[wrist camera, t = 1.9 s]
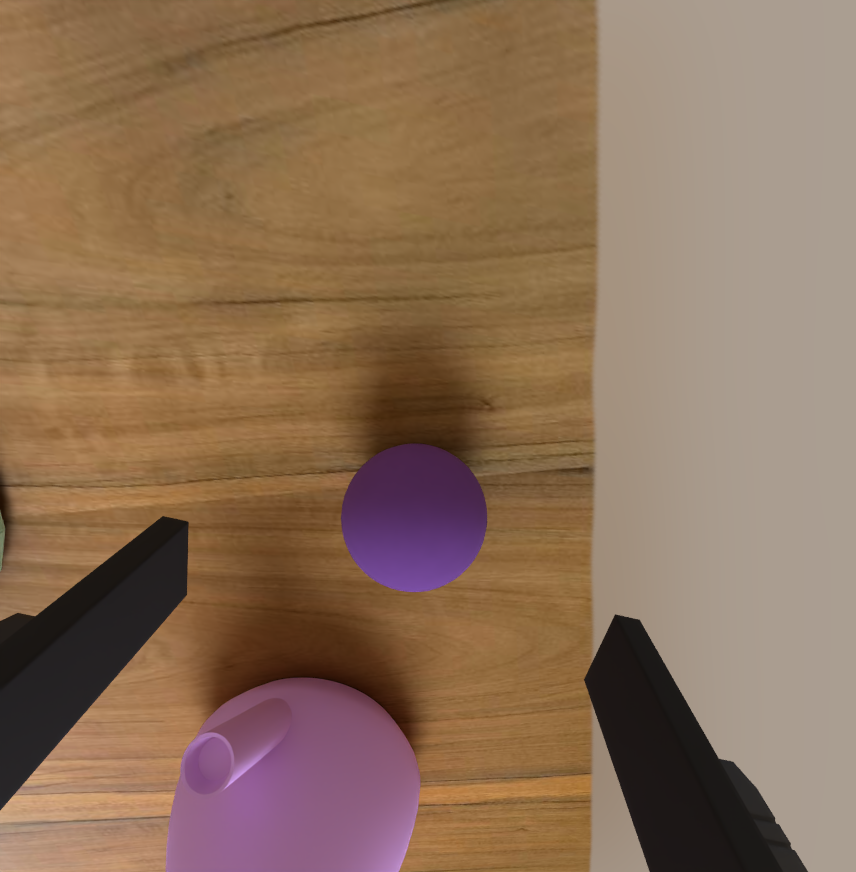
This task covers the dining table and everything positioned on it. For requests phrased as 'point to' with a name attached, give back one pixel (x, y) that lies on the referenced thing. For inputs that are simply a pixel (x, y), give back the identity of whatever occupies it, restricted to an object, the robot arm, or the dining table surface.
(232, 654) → the dining table surface
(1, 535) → the green bowl
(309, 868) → the teapot
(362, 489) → the ball
